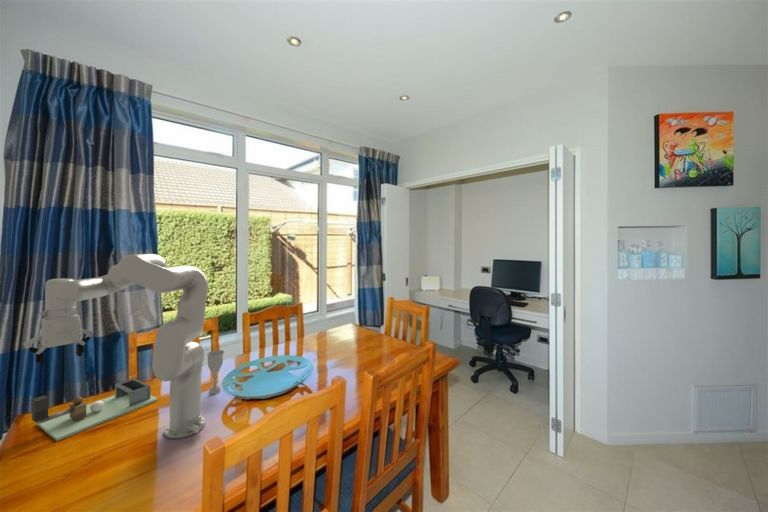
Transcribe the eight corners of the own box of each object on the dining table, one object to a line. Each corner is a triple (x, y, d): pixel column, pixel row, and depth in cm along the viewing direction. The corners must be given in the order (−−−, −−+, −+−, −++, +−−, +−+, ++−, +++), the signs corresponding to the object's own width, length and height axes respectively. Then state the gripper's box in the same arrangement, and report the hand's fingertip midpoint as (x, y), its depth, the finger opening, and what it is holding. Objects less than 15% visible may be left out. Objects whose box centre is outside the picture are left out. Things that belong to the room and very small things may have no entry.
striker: (86, 416, 111) (86, 387, 110) (36, 435, 100) (36, 402, 99) (80, 413, 113) (80, 383, 113) (31, 431, 102) (30, 398, 101)
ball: (106, 410, 116) (106, 400, 116) (92, 415, 113) (92, 405, 113) (101, 407, 118) (101, 397, 118) (88, 412, 115) (88, 402, 114)
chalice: (215, 396, 131) (215, 356, 131) (202, 394, 133) (202, 354, 132) (227, 388, 139) (227, 350, 138) (214, 386, 140) (215, 349, 139)
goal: (150, 400, 126) (150, 384, 126) (130, 408, 120) (130, 391, 120) (134, 392, 132) (134, 377, 132) (114, 399, 126) (115, 383, 125)
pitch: (157, 400, 126) (157, 398, 126) (56, 441, 99) (56, 438, 99) (135, 389, 134) (135, 387, 134) (37, 424, 108) (37, 422, 107)
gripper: (27, 319, 97) (27, 370, 98) (97, 310, 112) (96, 354, 113) (20, 315, 100) (20, 365, 101) (89, 307, 116) (88, 350, 116)
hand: (60, 359), depth 107 cm, fingers open, 9 cm apart
